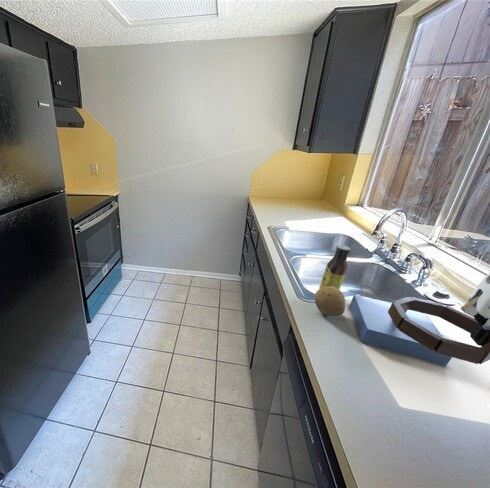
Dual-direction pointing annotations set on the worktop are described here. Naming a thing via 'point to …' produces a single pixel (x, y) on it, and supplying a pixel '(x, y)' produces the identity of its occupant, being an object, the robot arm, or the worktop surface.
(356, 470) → the worktop surface
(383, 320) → the ring stand
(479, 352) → the walnut ring
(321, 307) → the brown potato
